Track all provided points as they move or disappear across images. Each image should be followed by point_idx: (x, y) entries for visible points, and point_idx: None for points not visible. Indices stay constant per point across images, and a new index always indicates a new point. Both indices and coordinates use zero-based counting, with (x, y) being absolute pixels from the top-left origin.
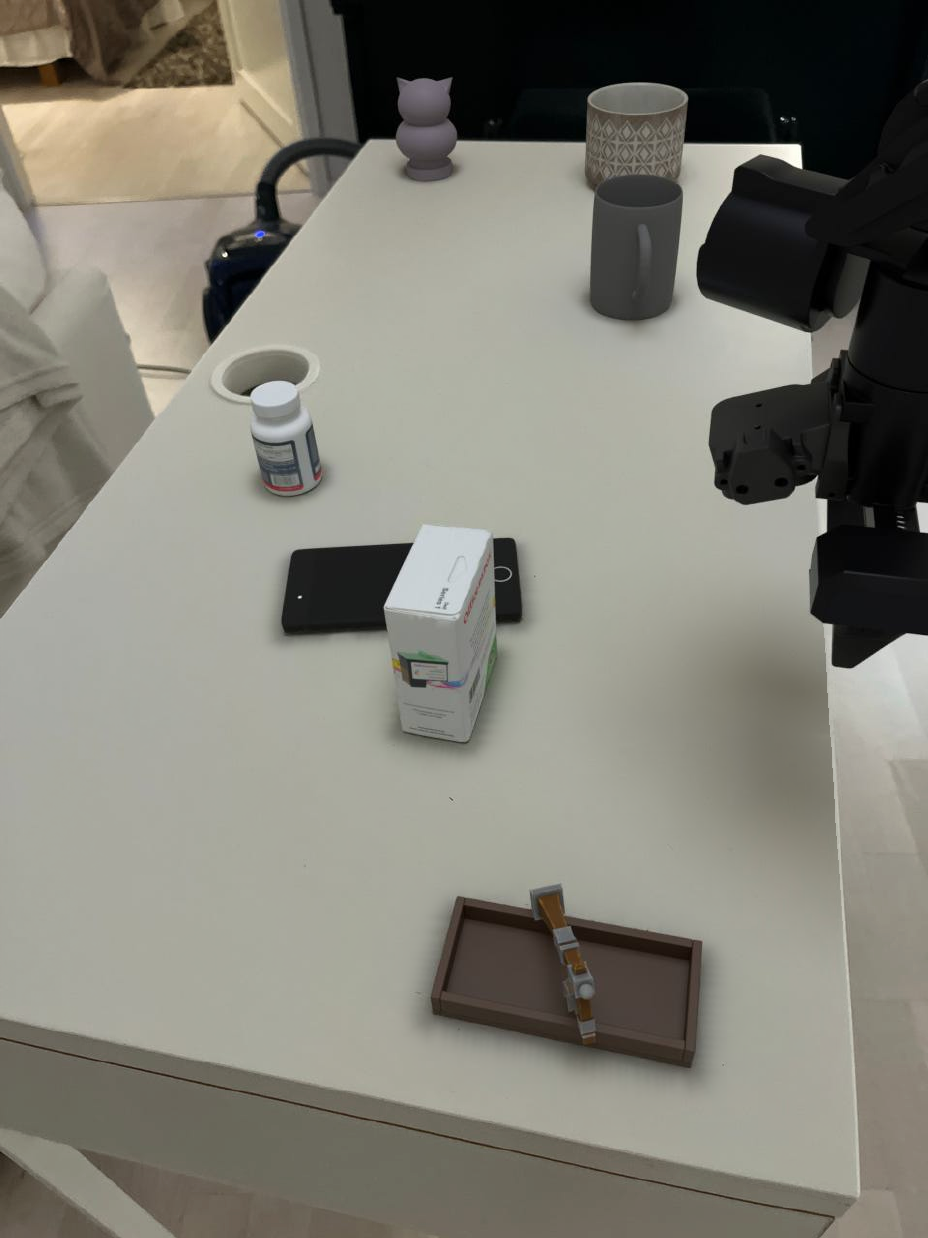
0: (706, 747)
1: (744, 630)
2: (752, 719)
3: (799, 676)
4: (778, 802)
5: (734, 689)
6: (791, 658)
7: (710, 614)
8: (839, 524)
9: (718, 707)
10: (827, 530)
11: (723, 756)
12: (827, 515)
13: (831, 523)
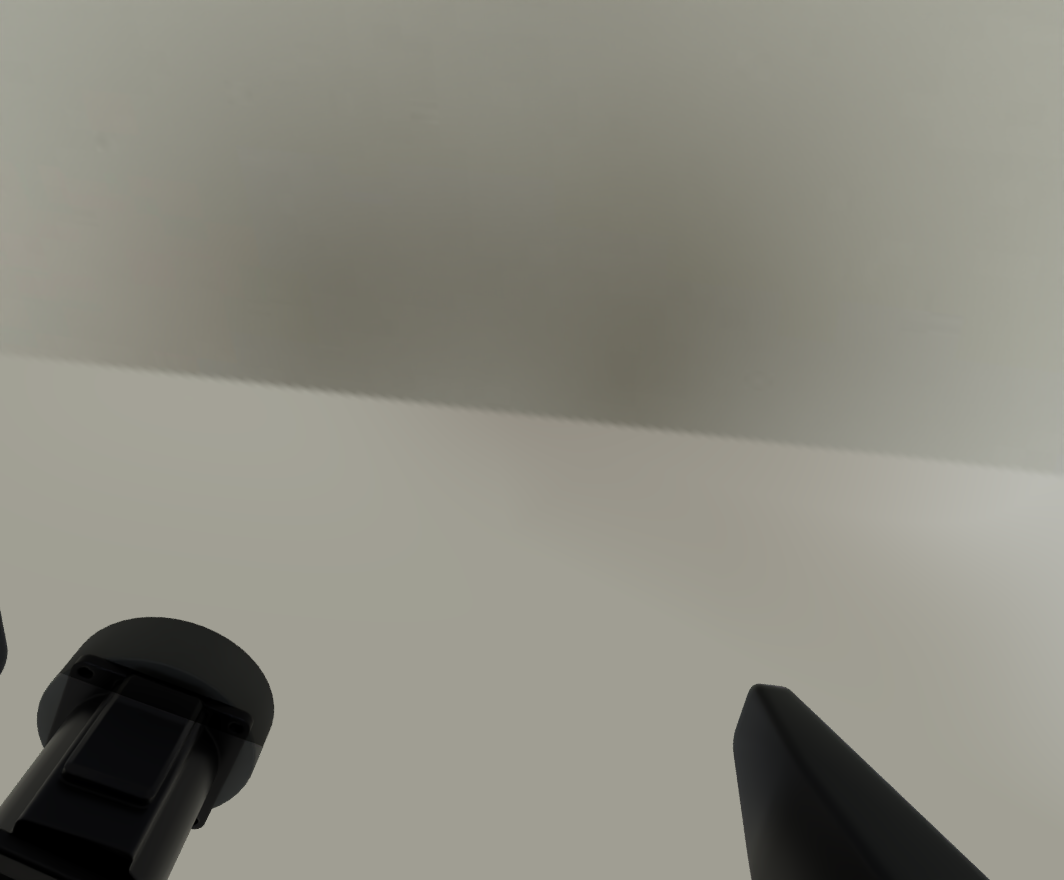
0: (421, 107)
1: (862, 265)
2: (529, 248)
3: (678, 385)
4: (270, 279)
5: (636, 211)
6: (742, 375)
7: (947, 170)
8: (822, 877)
9: (569, 157)
10: (816, 789)
11: (395, 153)
12: (883, 872)
13: (839, 845)
